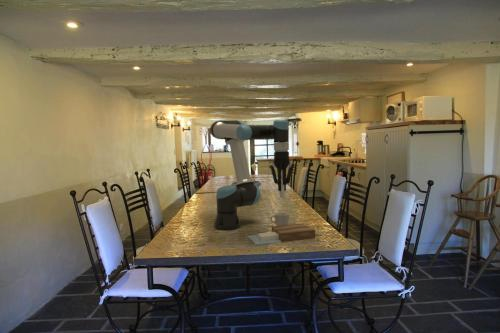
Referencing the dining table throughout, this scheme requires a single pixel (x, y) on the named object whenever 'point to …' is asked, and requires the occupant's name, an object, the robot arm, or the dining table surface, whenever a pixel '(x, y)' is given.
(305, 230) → the block
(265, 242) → the mat
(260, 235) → the beige flat block
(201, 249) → the dining table surface
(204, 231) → the dining table surface
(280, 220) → the cup
